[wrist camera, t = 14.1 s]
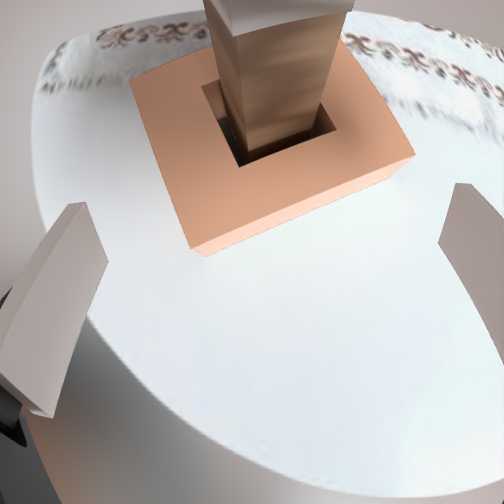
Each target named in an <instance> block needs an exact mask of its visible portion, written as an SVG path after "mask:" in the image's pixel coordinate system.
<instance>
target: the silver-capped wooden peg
mask: <svg viewBox="0 0 504 504" xmlns="http://www.w3.org/2000/svg"><path fill="white" fill-rule="evenodd" d="M203 2H204V7H205V12H206V17H207V21H208V26H209V31H210V35H211V40H212V45H213V49H214V54H215V59H216V63H217V68H218V73H219V77H220V82H221V87H222V91H223V96H224V101H225V105H226V110H227V115H228V120H229V124H230V128H231V131H232V133H233V135H234V137H235V140H236V142H237V144H238V146H239V148H240V151H241V153H242V155H243V157H244V160H245V162H246V164H249V163H252V162H254V161H257V160H259V159H261V158H264V157H266V156H269V155H271V154H274V153H277V152H279V151H282V150H284V149H287V148H289V147H292V146H295V145H297V144H300V143H303V142H305V141H308V139H309V136H310V133H311V129H312V126H313V123H314V120H315V117H316V113H317V110H318V107H319V104H320V100H321V97H322V94H323V91H324V87H325V84H326V81H327V78H328V74H329V71H330V68H331V64H332V61H333V58H334V54H335V51H336V48H337V44H338V41H339V38H340V34H341V31H342V27H343V24H344V21H345V17H346V14H347V12H350V11H352V8H353V5H354V2H355V0H203Z"/></svg>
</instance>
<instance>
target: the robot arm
mask: <svg viewBox="0 0 504 504" xmlns="http://www.w3.org/2000/svg"><path fill="white" fill-rule="evenodd" d="M438 244H439V246H440V247H441V249H442V250H443V252H444V253H445V255H446V257H447V258H448V260H449V261H450V263H451V265H452V266H453V268H454V270H455V271H456V273H457V275H458V276H459V278H460V280H461V281H462V283H463V285H464V287H465V288H466V290H467V292H468V294H469V296H470V297H471V299H472V301H473V303H474V305H475V306H476V308H477V310H478V312H479V314H480V316H481V318H482V320H483V322H484V324H485V326H486V328H487V330H488V332H489V334H490V336H491V338H492V340H493V342H494V344H495V346H496V348H497V351H498V353H499V355H500V357H501V360H502V362H503V364H504V218H503V217H502V216H501V215H500V214H499V213H498V212H497V211H496V210H495V208H494V207H493V206H492V205H491V204H490V203H489V202H488V201H487V200H486V199H485V198H484V197H483V196H482V195H481V194H480V193H479V192H478V191H477V190H476V189H475V188H474V187H473V186H472V185H471V184H463V183H456V184H455V188H454V191H453V195H452V199H451V202H450V206H449V209H448V213H447V216H446V219H445V223H444V226H443V229H442V232H441V235H440V238H439V241H438ZM108 262H109V261H108V259H107V256H106V254H105V252H104V249H103V247H102V244H101V242H100V239H99V237H98V234H97V232H96V229H95V226H94V224H93V221H92V219H91V216H90V213H89V210H88V208H87V205H86V202H81V203H74V204H68V205H67V207H66V208H65V209H64V211H63V212H62V213H61V215H60V216H59V217H58V219H57V220H56V222H55V223H54V224H53V226H52V227H51V229H50V230H49V231H48V233H47V234H46V236H45V237H44V239H43V240H42V242H41V243H40V245H39V246H38V248H37V249H36V251H35V252H34V254H33V255H32V257H31V258H30V260H29V261H28V263H27V264H26V266H25V268H24V269H23V271H22V272H21V274H20V276H19V277H18V279H17V281H16V282H15V284H14V286H13V287H12V288H11V289H10V290H9V291H8V293H7V294H6V295H5V296H4V297H3V298H2V299H1V301H0V504H62V503H61V501H60V500H59V498H58V496H57V494H56V491H55V489H54V487H53V485H52V484H51V481H50V479H49V477H48V475H47V472H46V470H45V468H44V465H43V463H42V461H41V458H40V456H39V453H38V451H37V448H36V446H35V443H34V440H33V438H32V435H31V432H30V429H29V426H28V423H27V420H26V418H25V416H24V415H23V413H21V412H20V410H21V407H22V405H24V406H25V407H26V408H27V409H28V410H30V411H31V412H32V413H34V414H37V415H41V416H45V417H49V418H53V416H54V412H55V408H56V404H57V401H58V397H59V394H60V391H61V387H62V384H63V381H64V378H65V375H66V371H67V368H68V365H69V362H70V359H71V356H72V353H73V350H74V348H75V345H76V342H77V339H78V336H79V333H80V331H81V328H82V325H83V323H84V320H85V317H86V315H87V312H88V310H89V307H90V305H91V302H92V300H93V297H94V295H95V292H96V290H97V287H98V285H99V283H100V280H101V278H102V276H103V273H104V271H105V269H106V266H107V264H108ZM502 504H504V501H503V503H502Z"/></svg>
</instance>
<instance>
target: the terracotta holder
mask: <svg viewBox="0 0 504 504" xmlns="http://www.w3.org/2000/svg"><path fill="white" fill-rule="evenodd" d="M130 84H131V87H132V90H133V94H134V97H135V100H136V103H137V106H138V109H139V112H140V115H141V118H142V120H143V123H144V126H145V129H146V132H147V135H148V138H149V141H150V143H151V146H152V149H153V152H154V155H155V157H156V160H157V163H158V166H159V168H160V171H161V174H162V177H163V179H164V182H165V185H166V187H167V190H168V193H169V195H170V198H171V200H172V203H173V206H174V208H175V211H176V213H177V216H178V219H179V221H180V224H181V226H182V229H183V231H184V234H185V236H186V239H187V241H188V244H189V246H190V249H191V250H194V251H196V252H198V253H200V254H203V255H205V256H209V255H211V254H214V253H216V252H218V251H220V250H223V249H225V248H227V247H229V246H232V245H234V244H236V243H239V242H241V241H243V240H245V239H248V238H250V237H252V236H255V235H257V234H259V233H262V232H264V231H266V230H268V229H271V228H273V227H275V226H278V225H280V224H282V223H285V222H287V221H289V220H292V219H294V218H296V217H299V216H301V215H303V214H306V213H308V212H310V211H313V210H315V209H317V208H320V207H322V206H324V205H327V204H329V203H331V202H334V201H336V200H338V199H341V198H343V197H346V196H348V195H350V194H353V193H355V192H357V191H360V190H362V189H364V188H367V187H369V186H372V185H374V184H376V183H379V182H381V181H384V180H386V179H388V178H389V177H390V176H391V175H393V174H394V173H395V172H396V171H397V170H398V169H400V168H401V167H402V166H403V165H404V164H405V163H407V162H408V161H409V160H410V159H411V158H412V157H414V156H415V155H416V154H415V152H414V150H413V148H412V147H411V145H410V143H409V141H408V139H407V138H406V136H405V134H404V132H403V131H402V129H401V127H400V125H399V124H398V122H397V120H396V119H395V117H394V115H393V114H392V112H391V111H390V109H389V107H388V106H387V104H386V103H385V101H384V99H383V98H382V96H381V95H380V93H379V92H378V90H377V89H376V87H375V86H374V84H373V83H372V81H371V80H370V78H369V77H368V76H367V74H366V73H365V71H364V70H363V68H362V67H361V66H360V64H359V63H358V62H357V60H356V59H355V57H354V56H353V55H352V53H351V52H350V51H349V49H348V48H347V47H346V46H345V44H344V43H343V42H342V40H341V39H340V38H339V41H338V44H337V48H336V51H335V54H334V58H333V61H332V64H331V68H330V71H329V74H328V78H327V81H326V84H325V87H324V91H323V94H322V97H321V100H320V104H319V107H318V110H317V113H316V117H315V120H314V123H313V126H312V129H311V133H310V136H309V137H310V138H311V140H308V141H305V142H303V143H300V144H297V145H295V146H292V147H289V148H287V149H284V150H282V151H279V152H277V153H274V154H271V155H269V156H266V157H264V158H261V159H259V160H257V161H254V162H252V163H249V164H247V165H244V166H242V167H240V168H239V167H238V165H237V162H236V160H235V158H234V156H233V154H232V152H231V149H230V147H229V145H228V143H227V141H226V139H225V137H224V135H223V132H222V130H221V128H220V126H219V124H218V122H217V121H218V120H220V119H222V118H225V117H227V116H228V115H227V110H226V105H225V101H224V96H223V91H222V87H221V82H220V77H219V73H218V68H217V63H216V59H215V54H214V49H213V45H212V46H209V47H206V48H204V49H201V50H198V51H196V52H193V53H191V54H188V55H186V56H183V57H181V58H178V59H176V60H174V61H171V62H169V63H167V64H164V65H162V66H160V67H158V68H155V69H153V70H151V71H149V72H147V73H145V74H143V75H141V76H139V77H137V78H134V79H132V80H130Z"/></svg>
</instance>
